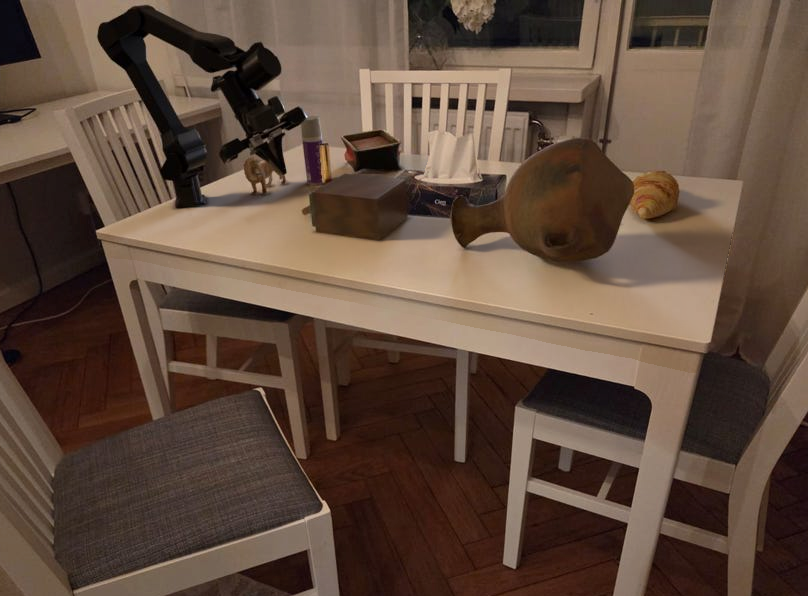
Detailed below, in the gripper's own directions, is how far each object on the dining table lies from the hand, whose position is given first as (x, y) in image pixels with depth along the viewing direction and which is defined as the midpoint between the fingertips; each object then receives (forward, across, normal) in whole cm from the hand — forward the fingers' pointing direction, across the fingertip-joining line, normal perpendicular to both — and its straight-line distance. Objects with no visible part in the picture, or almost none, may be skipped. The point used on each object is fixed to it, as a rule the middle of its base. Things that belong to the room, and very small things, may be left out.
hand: (284, 174), depth 129 cm
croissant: (+41, +55, -30) cm, 75 cm away
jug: (+33, +22, -36) cm, 54 cm away
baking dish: (+8, +29, +26) cm, 40 cm away
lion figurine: (+1, +1, +22) cm, 22 cm away
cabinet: (+16, +6, -9) cm, 19 cm away
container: (+4, +12, +21) cm, 25 cm away
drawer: (+14, +5, -7) cm, 16 cm away
